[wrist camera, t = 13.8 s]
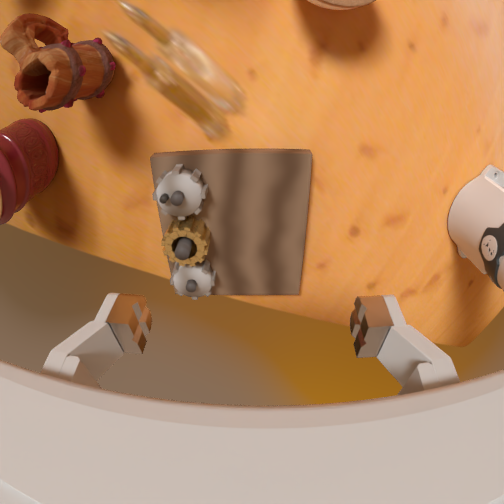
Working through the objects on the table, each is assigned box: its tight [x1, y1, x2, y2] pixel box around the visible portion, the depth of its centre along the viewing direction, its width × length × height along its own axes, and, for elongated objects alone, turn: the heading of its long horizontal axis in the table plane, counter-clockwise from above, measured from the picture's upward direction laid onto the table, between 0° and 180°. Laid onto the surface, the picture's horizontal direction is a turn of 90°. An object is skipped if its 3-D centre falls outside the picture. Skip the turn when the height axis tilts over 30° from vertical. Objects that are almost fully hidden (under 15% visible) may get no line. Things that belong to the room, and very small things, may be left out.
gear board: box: [150, 149, 312, 300], centre depth 42 cm, size 21×24×7 cm
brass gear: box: [162, 215, 211, 267], centre depth 42 cm, size 6×6×4 cm
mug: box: [0, 13, 116, 113], centre depth 23 cm, size 15×8×15 cm, turn 25°
